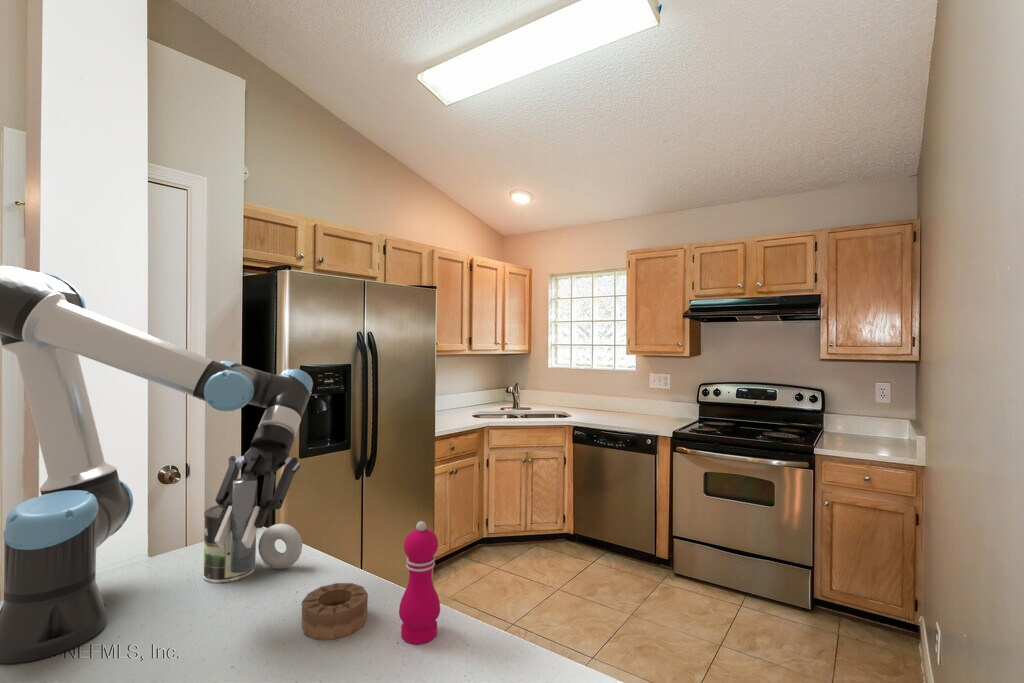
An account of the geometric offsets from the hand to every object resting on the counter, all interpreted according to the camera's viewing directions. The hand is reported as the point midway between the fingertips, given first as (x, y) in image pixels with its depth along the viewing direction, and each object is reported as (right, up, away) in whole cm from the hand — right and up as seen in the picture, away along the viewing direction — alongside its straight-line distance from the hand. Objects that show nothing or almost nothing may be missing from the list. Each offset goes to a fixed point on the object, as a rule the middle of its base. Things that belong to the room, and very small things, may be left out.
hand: (232, 544), depth 88 cm
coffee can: (-14, -16, +23) cm, 31 cm away
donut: (-4, -16, +26) cm, 30 cm away
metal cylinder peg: (0, -6, +4) cm, 7 cm away
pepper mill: (+32, -17, +1) cm, 36 cm away
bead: (+16, -16, +4) cm, 23 cm away
